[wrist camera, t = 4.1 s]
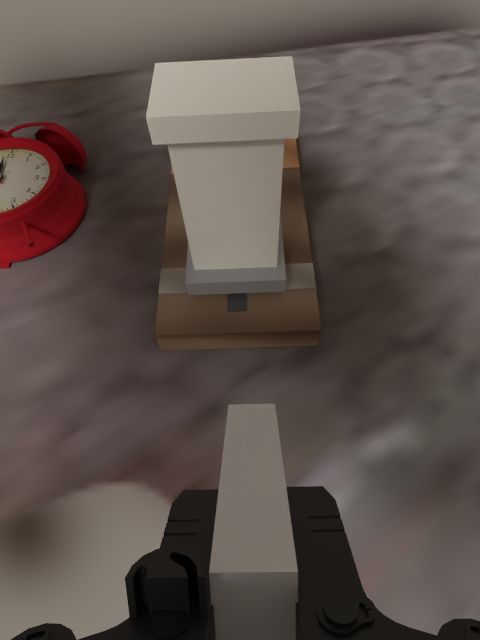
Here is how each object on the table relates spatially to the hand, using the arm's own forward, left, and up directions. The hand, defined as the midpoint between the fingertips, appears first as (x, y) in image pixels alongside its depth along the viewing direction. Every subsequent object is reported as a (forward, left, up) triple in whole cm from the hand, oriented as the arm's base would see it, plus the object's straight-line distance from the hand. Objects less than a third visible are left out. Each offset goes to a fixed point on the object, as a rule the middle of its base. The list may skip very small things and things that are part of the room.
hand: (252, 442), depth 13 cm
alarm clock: (-29, -6, -10) cm, 31 cm away
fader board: (-19, +8, -10) cm, 23 cm away
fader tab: (-12, +5, -7) cm, 15 cm away
